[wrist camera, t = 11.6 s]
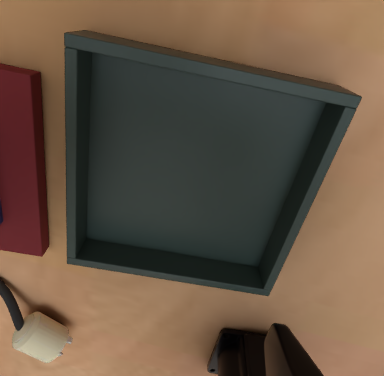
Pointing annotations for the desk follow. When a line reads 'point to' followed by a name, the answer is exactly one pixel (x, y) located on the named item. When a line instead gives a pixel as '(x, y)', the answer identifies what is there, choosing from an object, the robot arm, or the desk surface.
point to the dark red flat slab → (22, 163)
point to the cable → (35, 331)
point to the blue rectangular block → (0, 216)
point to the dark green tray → (191, 161)
